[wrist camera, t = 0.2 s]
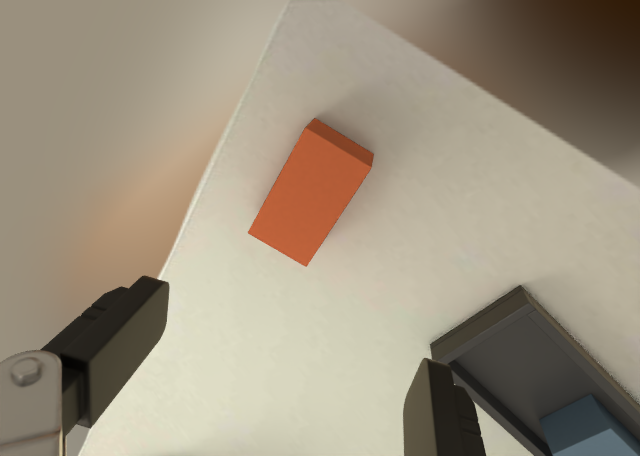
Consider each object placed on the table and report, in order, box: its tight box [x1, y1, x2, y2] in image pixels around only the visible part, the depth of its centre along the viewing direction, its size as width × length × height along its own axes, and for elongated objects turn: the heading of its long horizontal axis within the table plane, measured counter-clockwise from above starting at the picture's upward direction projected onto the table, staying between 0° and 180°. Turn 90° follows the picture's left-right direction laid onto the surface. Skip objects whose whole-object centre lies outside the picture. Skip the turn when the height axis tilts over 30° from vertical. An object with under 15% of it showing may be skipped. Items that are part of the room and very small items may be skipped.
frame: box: [430, 286, 640, 456], centre depth 35 cm, size 23×9×2 cm, turn 47°
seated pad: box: [539, 394, 640, 456], centre depth 35 cm, size 9×5×4 cm, turn 47°
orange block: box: [248, 118, 374, 267], centre depth 30 cm, size 9×5×4 cm, turn 150°
